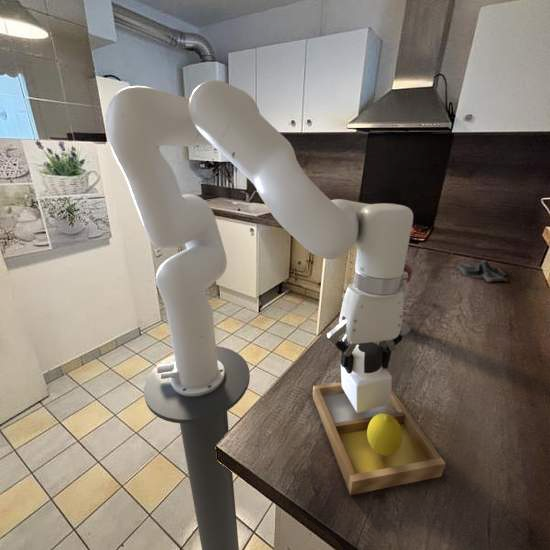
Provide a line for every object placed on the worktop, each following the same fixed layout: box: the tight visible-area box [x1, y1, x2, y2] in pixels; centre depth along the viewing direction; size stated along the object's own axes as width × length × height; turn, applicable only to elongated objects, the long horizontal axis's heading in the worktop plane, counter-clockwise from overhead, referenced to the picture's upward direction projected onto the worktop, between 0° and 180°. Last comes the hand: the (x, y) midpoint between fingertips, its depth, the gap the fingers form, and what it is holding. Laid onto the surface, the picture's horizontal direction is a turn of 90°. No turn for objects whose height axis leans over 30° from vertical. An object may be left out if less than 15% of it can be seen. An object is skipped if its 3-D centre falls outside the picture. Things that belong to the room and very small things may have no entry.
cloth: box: [458, 259, 509, 283], centre depth 128 cm, size 22×19×6 cm
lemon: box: [367, 414, 402, 456], centre depth 50 cm, size 6×6×8 cm
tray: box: [312, 381, 446, 496], centre depth 55 cm, size 16×20×3 cm
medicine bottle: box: [340, 342, 393, 413], centre depth 56 cm, size 7×7×12 cm
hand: (364, 365), depth 55 cm, fingers closed on medicine bottle, 6 cm apart
